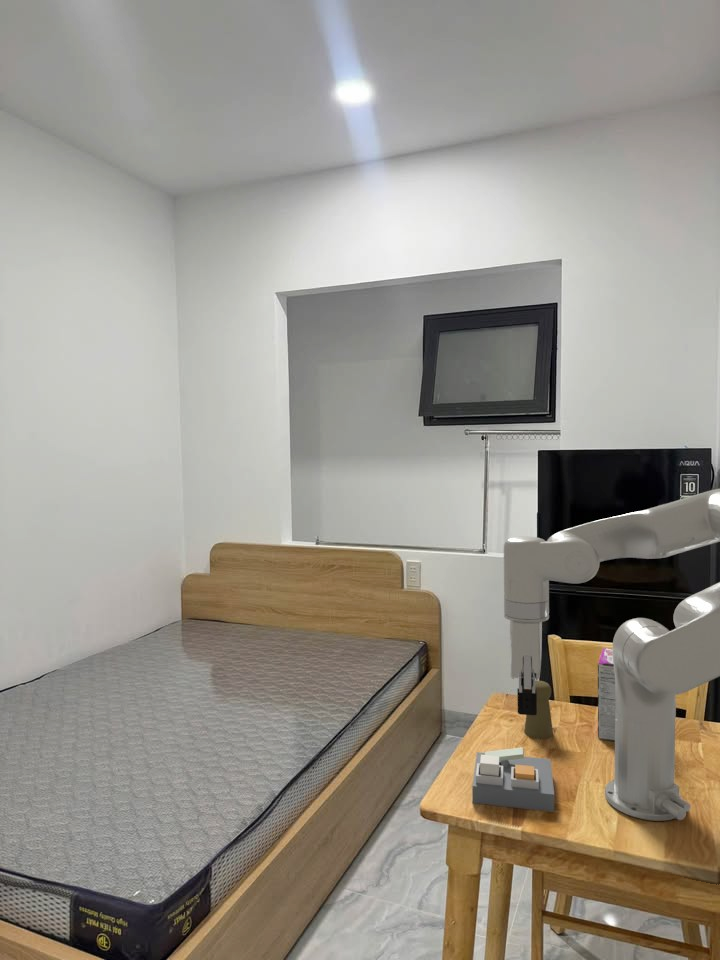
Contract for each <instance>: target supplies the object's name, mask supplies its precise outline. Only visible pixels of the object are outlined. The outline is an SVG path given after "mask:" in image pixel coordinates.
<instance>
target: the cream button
mask: <svg viewBox="0 0 720 960" xmlns="http://www.w3.org/2000/svg"><path fill="white" fill-rule="evenodd" d="M480 774H484V775H494V776H499V756H490V755H481V759H480Z"/></svg>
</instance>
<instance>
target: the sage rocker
mask: <svg viewBox="0 0 720 960" xmlns="http://www.w3.org/2000/svg"><path fill="white" fill-rule="evenodd" d="M484 753H485V755H490V756H499V761H505V760H515V759H524V757H525V750H524V747H514V748H507V749H496V750H487V751H485V752H484Z"/></svg>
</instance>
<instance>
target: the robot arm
mask: <svg viewBox="0 0 720 960" xmlns="http://www.w3.org/2000/svg"><path fill="white" fill-rule="evenodd" d="M719 542H720V488H715V489H711V490H707V491H704V492H701V493H697V494H694V495H691V496H687V497H684V498H680V499H678V500H675V501H670V502H668V503H663V504H659V505H657V506H654V507H650V508H647V509H643V510H638V511H634V512H633V511H632V512H629V513H625V514H621V515H616V516H612V517H611V516H610V517H607V518H602V519H598V520H594V521H590V522H586V523H583V524H579V525H575V526H573V527H572V526H571V527H569V528H566V529H563V530H560V531H558V532H556V533H554V534H552V535H551V536H549V537H548V538H547V540H546V539H543V538H540V537H536V536H514V537H510V538H508V539H507V540H506V541H505V542H504V544H503V598H504V599H503V605H504V607H503V608H504V609H503V612H504V613H503V617H504V618H505V619H506V620H508V621H510V623H509V671H510V672H509V673H510V678H511V680H515V679H518V688H517V689H516V691H517V714H518V715H523V716H526V715H536V714H537V692H536V689H535V681H539V680H540V677H541V666H542V643H543V642H542V641H543V638H542V637H543V636H542V635H543V634H542V633H543V632H542V631H543V627H542V626H543V622H546V621H548V620H549V618H550V615H549V614H550V581H552V582H553V581H554V582H559V583H566V584H582V583H586V582H588V581H590V580H592V579H593V578H594V577H595V576H596V575H597V574H598V571H599V568H600V563H601V562H604V561H610V560H615V559H626V558H633V559H635V558H636V559H647V560H649V559H651V560H652V559H662V558H663V559H664V558H668V557H671V556H674V555H677V554H681V553H685V552H687V551H692V550H694V549H695V550H696V549H698V548H702V547H705V546H710V545H713V544H716V543H719ZM672 617H673V623H674V626H675V628H674V629H671V630H669V629H668V628H667V627H665V626H664V625H663V624H661V623H659V622H658V621H654V620H653V619H650V618H646V617H636V618H632V619H629V620H626V621H625V622H623V623H622V624H621V625H619V627H618V629H617V630H616V631H615V634H614V637H613V640H612V648H611V649H612V651H613V664H614V673H615V691H616V704H615V741H614V779H613V780H611V781H609V782H608V783H606V785H605V787H604V797H605V799H606V801H607V802H608V803H609V804H610V805H611V806H612V807H613V808H614V809H616V810H618V811H619V812H621V813H623V814H626V815H628V816H629V817H633V818H637V819H640V820H645V821H653V822H654V821H656V822H661V821H662V822H663V821H671V820H674V819H677V820H678V821H683V820H684V819H685V817H686V816H687V812H689V811H690V810H691V804H690V803H689V802H688V801H686V800H685V799H683V797H682V795H680V786H679V785H677V784H676V783H675V773H676V771H675V769H676V768H675V767H676V766H675V765H676V764H675V761H676V757H675V756H676V749H675V748H676V718H677V716H676V715H677V712H676V711H677V705H676V703H677V702H676V701H677V700H676V699H677V698H676V696H677V695H681V694H684V693H687V692H688V691H691V690H694V689H696V688H698V687H700V686H702V685H704V684H706V683H709V682H711V681H713V680H715V679H718V678H719V677H720V581H719V582H717V583H715V584H712V585H710V586H709V587H707V588H705V589H703V590H701V591H698V592H696V593H694V594H692V595H690V596H688V597H686V598H685V599H683V600H682V601H681V602H679V603H678V605H677V606H676V608H675V609H674V613H673V616H672Z"/></svg>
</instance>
